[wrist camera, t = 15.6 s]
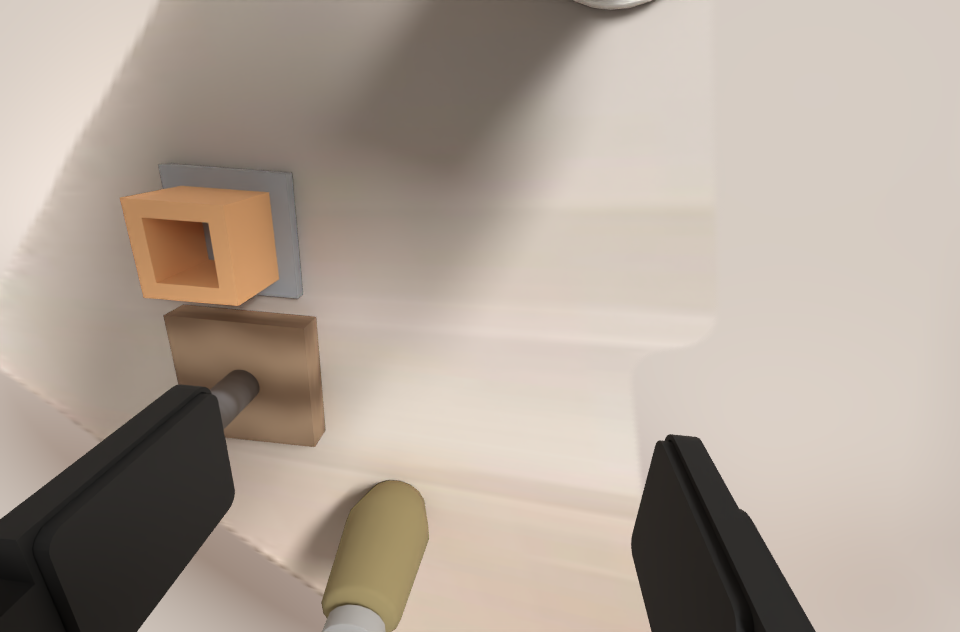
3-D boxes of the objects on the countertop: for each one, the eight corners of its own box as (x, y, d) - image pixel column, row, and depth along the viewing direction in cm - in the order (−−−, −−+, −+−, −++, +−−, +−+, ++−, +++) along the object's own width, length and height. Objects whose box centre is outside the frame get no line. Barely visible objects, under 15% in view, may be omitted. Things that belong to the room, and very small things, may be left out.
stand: (183, 304, 41) (92, 354, 33) (316, 316, 41) (259, 370, 32) (206, 417, 46) (132, 487, 37) (325, 430, 45) (278, 504, 37)
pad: (167, 163, 37) (158, 164, 36) (292, 172, 36) (285, 174, 35) (190, 284, 40) (182, 287, 40) (303, 294, 40) (297, 298, 39)
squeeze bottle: (381, 456, 46) (302, 645, 30) (450, 495, 47) (412, 698, 31) (345, 506, 49) (255, 703, 33) (411, 542, 50) (356, 749, 34)
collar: (181, 185, 36) (119, 197, 31) (269, 192, 36) (223, 205, 30) (197, 272, 39) (143, 297, 33) (279, 279, 39) (238, 305, 33)
